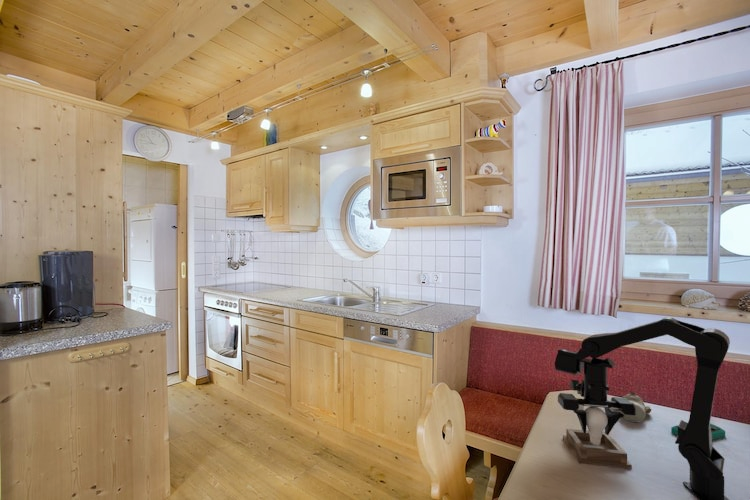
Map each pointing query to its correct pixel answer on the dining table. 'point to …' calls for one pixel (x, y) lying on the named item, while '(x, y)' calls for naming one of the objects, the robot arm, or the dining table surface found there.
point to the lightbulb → (595, 423)
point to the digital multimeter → (715, 431)
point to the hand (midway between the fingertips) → (595, 433)
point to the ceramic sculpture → (637, 408)
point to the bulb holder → (596, 450)
